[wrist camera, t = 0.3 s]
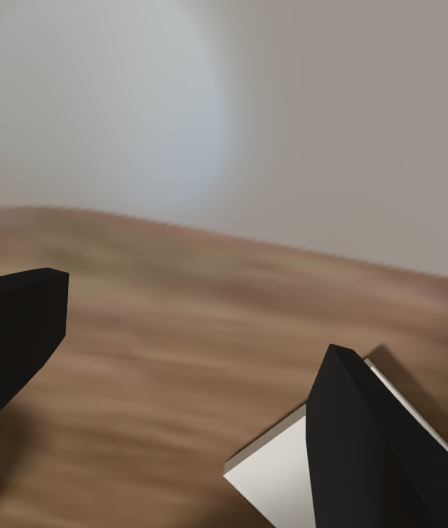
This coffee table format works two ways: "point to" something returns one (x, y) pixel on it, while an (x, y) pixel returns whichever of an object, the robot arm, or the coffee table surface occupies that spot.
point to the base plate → (289, 467)
